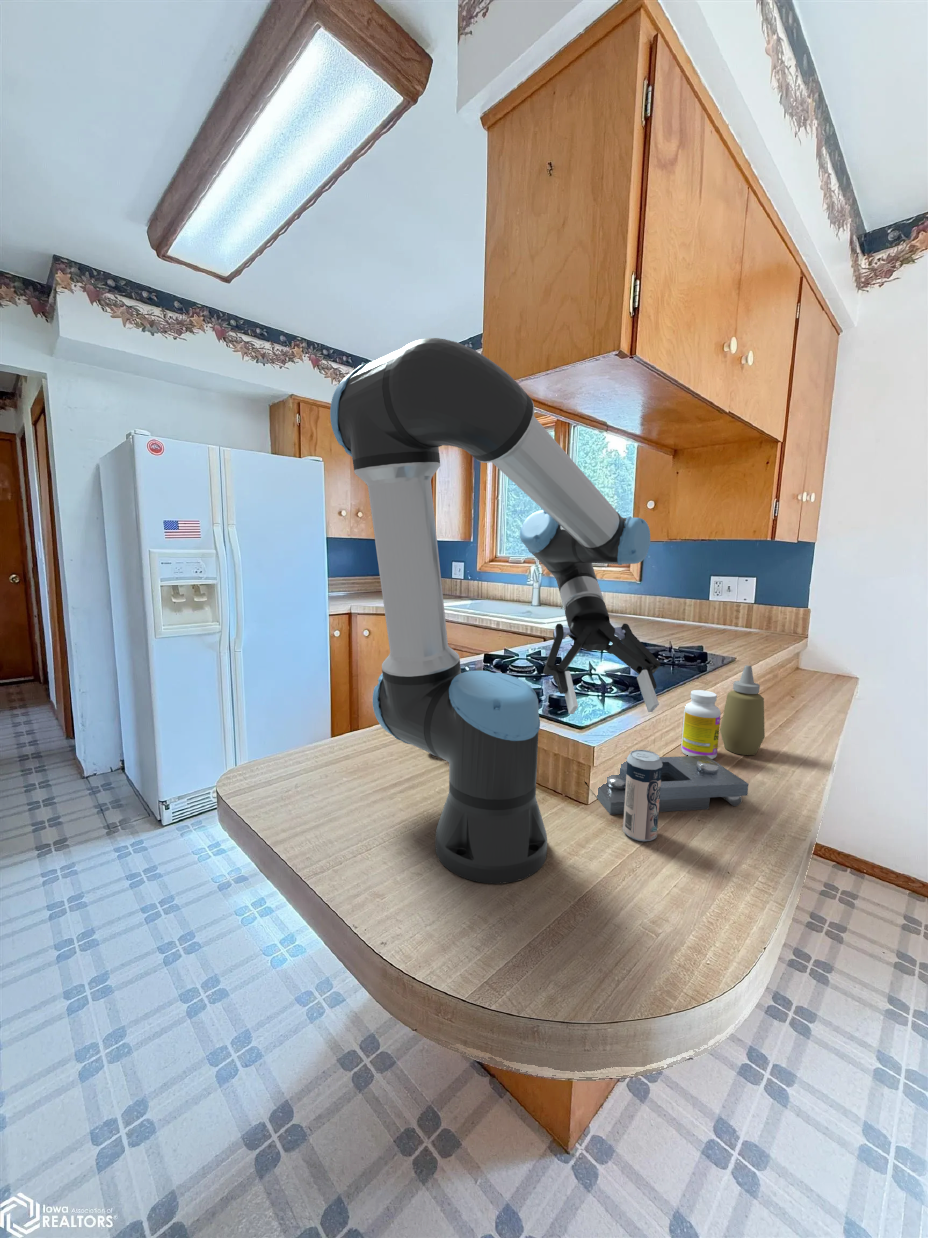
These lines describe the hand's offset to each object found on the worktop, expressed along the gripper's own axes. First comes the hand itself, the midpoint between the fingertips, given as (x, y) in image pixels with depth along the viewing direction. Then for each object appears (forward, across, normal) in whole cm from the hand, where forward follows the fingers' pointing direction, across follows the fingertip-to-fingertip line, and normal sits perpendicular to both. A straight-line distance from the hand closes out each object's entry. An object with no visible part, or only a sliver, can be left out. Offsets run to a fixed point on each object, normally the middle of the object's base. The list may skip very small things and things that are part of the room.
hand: (614, 709), depth 78 cm
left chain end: (+10, -6, -11) cm, 16 cm away
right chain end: (+11, -12, -11) cm, 19 cm away
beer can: (+18, 0, -3) cm, 19 cm away
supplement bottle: (0, -26, -22) cm, 34 cm away
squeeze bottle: (-1, -36, -22) cm, 42 cm away
